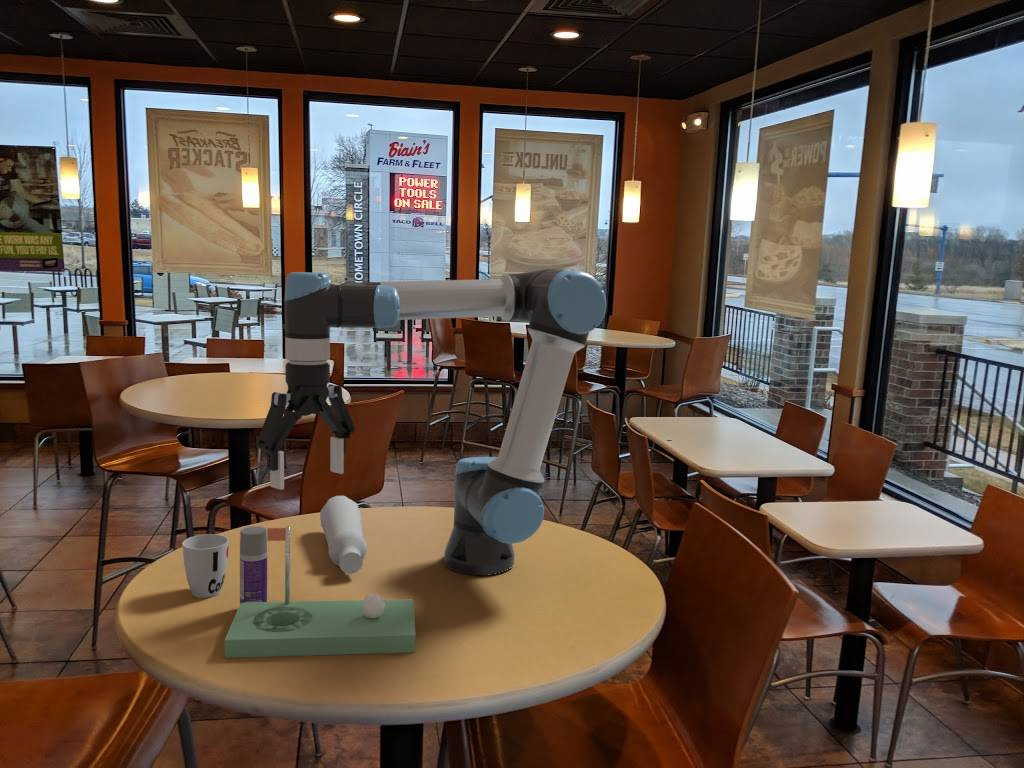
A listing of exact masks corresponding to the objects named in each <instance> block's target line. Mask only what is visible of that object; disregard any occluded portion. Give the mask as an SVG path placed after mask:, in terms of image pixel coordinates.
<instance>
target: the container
mask: <svg viewBox="0 0 1024 768" xmlns="http://www.w3.org/2000/svg"><path fill="white" fill-rule="evenodd" d="M239 533H240V536H239V538H240V539H239V604H240V603H241V602H268V541H267V528H266V527H264V526H259V525H258V526H257V525H256V526H247V527H244V528H242V529H240V531H239Z"/></svg>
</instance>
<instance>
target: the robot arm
mask: <svg viewBox="0 0 1024 768" xmlns="http://www.w3.org/2000/svg"><path fill="white" fill-rule="evenodd" d="M284 281H285V284H284V288H285V289H284V332H285V333H284V334H285V335H284V337H285V338H284V339H285V342H284V344H285V345H284V347H285V348H284V349H285V350H284V352H285V353H284V355H285V356H284V357H285V359H286V361H288V362H286V363H285V365H284V366H285V367H284V368H285V382H286V384H287V390H286V393H285V392H284V393H282V392H276V391H274V392H273V393H272V394H271V396H270V397H271V399H270V407H269V409H268V412H267V415H266V417H265V420H264V423H263V425H262V428H261V431H260V432H259V435H258V438H257V441H256V444H255V447H256V448H257V449H259V450H263V451H266V468H267V470H268V471H269V482H270V483H269V484H270V485H269V486H270V487H271V488H274V489H275V490H284V489H285V452H284V451H283V450H281V449H282V447H283V445H284V443H285V442H286V441H287V439H288V437H289V436H290V434H291V432H292V430H293V429H294V427H295V425H296V423H297V422H298V421H300V420H301V419H302V417H303V416H304V417H307V416H309V415H310V416H311V415H312V414H313V415H319V417H320V418H321V419H322V420H323V422H324V424H325V425H326V426H327V427H328V429H329V430H330V431H331V433H332V434H333V435H334V436H331V437H330V438H329V439H330V441H329V442H330V453H329V454H330V461H329V462H330V469H329V471H330V472H331V473H336V474H340V475H342V474H345V473H344V468H345V467H344V466H345V464H344V463H345V460H344V457H345V456H344V455H345V454H346V453H347V439H350V437H351V436H352V435H351V434H352V433H354V432H355V430H356V428H355V426H354V422H353V420H352V418H351V415H350V413H349V410H348V408H347V405H346V402H345V400H344V397H343V388H342V386H341V385H338V384H332V383H331V384H329V383H330V381H331V365H330V364H329V362H328V361H329V360H330V358H331V345H330V344H331V343H330V342H331V341H330V340H331V336H330V335H331V334H330V332H331V331H330V330H331V328H337V329H338V328H358V329H361V328H365V329H369V328H370V329H377V330H379V329H381V328H383V329H384V328H394V327H395V326H396V325H398V322H399V321H400V320H401V321H402V320H403V321H404V320H405V321H407V320H429V319H435V320H436V319H459V318H460V319H461V318H463V319H464V318H487V317H488V318H490V317H500V318H502V320H503V321H505V322H508V321H511V322H512V321H517V322H518V321H519V322H525V323H528V328H527V332H528V334H529V335H530V337H531V340H532V341H531V344H530V347H529V350H528V354H527V358H526V362H525V365H524V368H523V372H522V375H521V378H520V381H519V386H518V388H517V391H516V395H515V399H514V401H513V405H512V408H511V411H510V416H509V417H508V418H509V419H508V423H507V425H506V429H505V433H504V436H503V438H502V443H501V446H500V448H499V453H498V456H472V457H465V458H461V459H459V460H458V461H457V463H456V465H455V473H454V477H455V479H454V481H455V482H454V502H453V503H454V505H453V507H454V508H453V509H454V510H453V511H454V512H453V527H452V530H451V533H450V536H449V538H448V540H447V543H446V546H445V548H444V553H443V554H444V556H443V559H444V560H443V563H444V565H445V566H446V567H447V568H449V569H451V570H452V571H454V572H456V573H461V574H466V575H471V576H489V575H488V574H494V575H496V574H495V573H499V572H502V571H505V570H507V569H509V568H510V567H512V566H513V564H514V565H515V555H516V554H515V551H514V547H513V544H519V543H521V542H524V541H525V540H527V539H529V538H531V537H532V536H533V535H535V533H536V532H538V531H539V529H540V527H541V525H542V524H543V520H544V516H545V507H544V504H543V501H542V498H541V497H540V496H541V493H542V490H543V486H544V483H545V478H544V476H543V473H542V472H541V466H542V463H543V460H544V456H545V452H546V449H547V447H548V442H549V438H550V437H551V433H552V430H553V427H554V423H555V419H556V417H557V413H558V410H559V406H560V402H561V399H562V396H563V393H564V390H565V387H566V384H567V383H566V382H567V379H568V376H569V373H570V370H571V365H572V364H573V360H574V356H575V354H576V353H577V352H579V351H580V350H582V349H584V348H585V347H586V344H587V340H588V337H589V334H590V333H591V332H592V331H593V330H595V329H597V328H598V326H599V325H600V324H601V323H602V321H603V320H604V317H605V314H606V312H607V297H606V293H605V290H604V288H603V287H602V284H601V283H600V281H598V280H597V279H596V278H595V277H594V276H593V275H590V273H587V272H585V271H580V270H576V269H572V268H571V269H570V268H569V269H556V268H553V269H552V268H546V269H540V270H533V271H528V272H520V273H519V272H517V273H505V274H502V275H501V276H500V277H499V278H497V279H495V278H494V279H492V278H491V279H460V280H459V279H450V280H449V279H447V280H446V279H445V280H442V279H441V280H410V281H409V280H407V281H406V280H403V281H401V280H400V281H368V282H367V281H364V282H363V281H361V282H360V281H359V282H358V281H354V280H353V281H351V280H350V281H344V282H341V283H339V284H335V283H332V281H331V278H330V275H329V274H328V273H326V272H309V271H307V272H304V271H292V272H290V273H288V274H287V276H286V277H285V280H284ZM327 399H328V400H329V402H330V405H331V406H330V405H329V403H328V402H327ZM513 567H514V566H513ZM513 567H512V568H513ZM499 574H500V573H499Z"/></svg>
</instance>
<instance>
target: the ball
mask: <svg viewBox="0 0 1024 768" xmlns="http://www.w3.org/2000/svg"><path fill="white" fill-rule="evenodd" d="M362 600H363V602H362V612H363V613H364V615H365V616H367V617H368V618H377V617H379V616H381V615H382V614H383V612H384V610H385V602H384V600H385V598H383V597H382V596H381V595H379V594H376V593H372V594H369V595H367V596H365V597H364V598H363V599H362Z"/></svg>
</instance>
